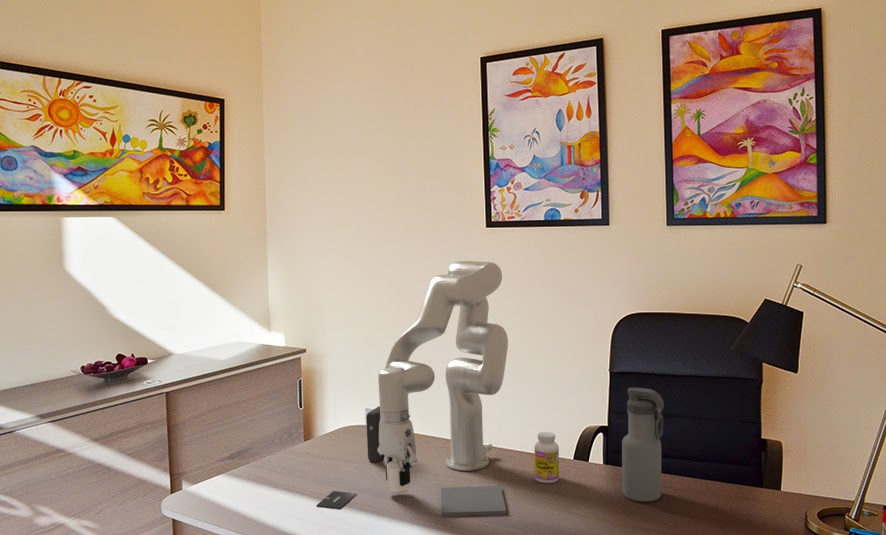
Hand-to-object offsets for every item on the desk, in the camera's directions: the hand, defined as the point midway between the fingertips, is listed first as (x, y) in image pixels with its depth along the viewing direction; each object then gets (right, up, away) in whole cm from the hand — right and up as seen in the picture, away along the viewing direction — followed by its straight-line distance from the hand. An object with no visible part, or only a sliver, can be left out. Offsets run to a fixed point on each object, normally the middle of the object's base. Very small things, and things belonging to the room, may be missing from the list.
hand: (398, 481), depth 196 cm
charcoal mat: (+19, -4, -6) cm, 21 cm away
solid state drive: (-16, -5, -2) cm, 17 cm away
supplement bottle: (+41, -2, +9) cm, 42 cm away
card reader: (-8, -2, +30) cm, 31 cm away
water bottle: (+64, -3, -4) cm, 64 cm away
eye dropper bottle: (0, -3, 0) cm, 3 cm away
